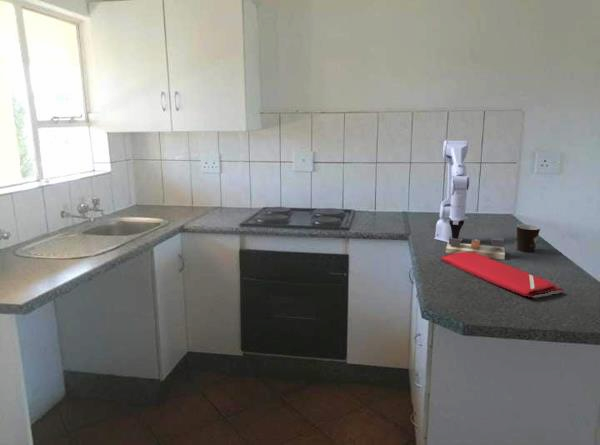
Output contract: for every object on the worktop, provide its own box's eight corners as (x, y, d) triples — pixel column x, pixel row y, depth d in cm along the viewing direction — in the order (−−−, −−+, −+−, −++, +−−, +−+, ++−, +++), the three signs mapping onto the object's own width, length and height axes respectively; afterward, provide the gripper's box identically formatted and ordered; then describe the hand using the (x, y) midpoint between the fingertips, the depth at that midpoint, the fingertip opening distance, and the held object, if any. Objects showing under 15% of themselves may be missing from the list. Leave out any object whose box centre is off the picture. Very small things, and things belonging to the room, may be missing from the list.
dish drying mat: (472, 257, 186) (473, 248, 185) (563, 295, 149) (565, 284, 148) (440, 262, 180) (441, 252, 179) (525, 302, 143) (527, 290, 142)
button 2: (491, 245, 185) (491, 239, 184) (491, 242, 189) (491, 236, 188) (503, 246, 183) (503, 240, 183) (502, 243, 187) (503, 237, 187)
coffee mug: (524, 254, 188) (527, 230, 186) (509, 248, 197) (512, 225, 194) (548, 252, 192) (551, 228, 189) (532, 246, 200) (535, 223, 197)
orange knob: (470, 248, 189) (471, 240, 188) (471, 246, 192) (471, 238, 191) (479, 249, 188) (480, 241, 187) (479, 247, 190) (480, 239, 190)
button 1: (448, 244, 191) (449, 238, 190) (449, 241, 195) (450, 236, 194) (460, 245, 189) (460, 239, 189) (460, 242, 193) (461, 237, 193)
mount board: (445, 252, 189) (446, 246, 189) (447, 246, 199) (448, 240, 198) (504, 259, 182) (505, 253, 181) (503, 252, 191) (504, 246, 190)
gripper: (467, 209, 180) (464, 243, 184) (469, 203, 194) (466, 234, 197) (448, 208, 183) (445, 241, 186) (451, 201, 196) (448, 233, 199)
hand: (455, 238), depth 192 cm, fingers closed, pressing on button 1
